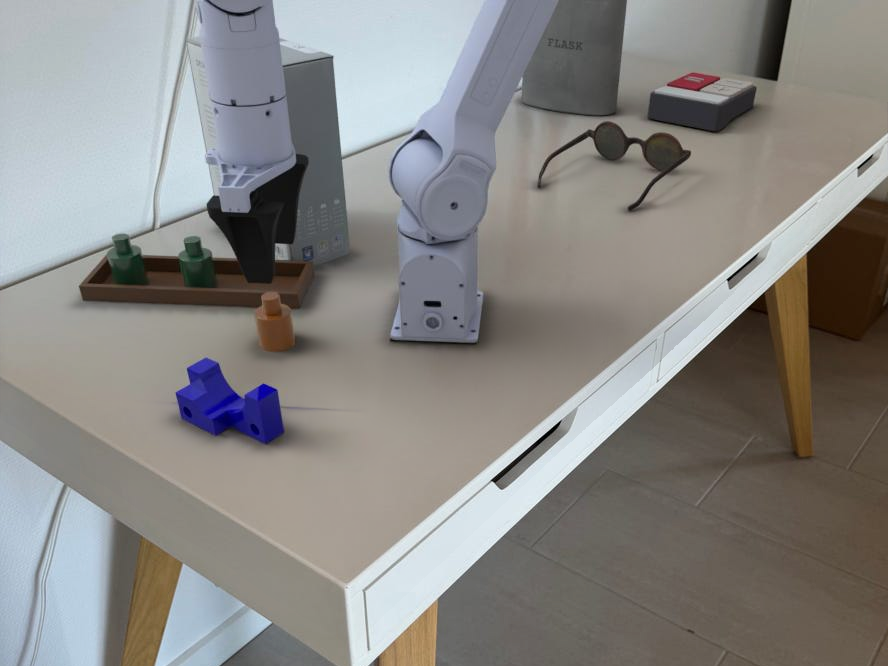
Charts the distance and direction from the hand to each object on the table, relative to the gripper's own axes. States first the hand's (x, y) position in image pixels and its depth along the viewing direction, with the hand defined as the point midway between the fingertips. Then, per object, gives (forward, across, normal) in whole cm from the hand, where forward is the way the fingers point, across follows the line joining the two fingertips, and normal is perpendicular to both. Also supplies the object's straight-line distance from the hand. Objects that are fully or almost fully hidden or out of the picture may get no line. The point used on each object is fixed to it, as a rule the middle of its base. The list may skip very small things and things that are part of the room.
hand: (271, 261), depth 78 cm
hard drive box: (+8, -21, -5) cm, 23 cm away
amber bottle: (+8, +1, 0) cm, 8 cm away
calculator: (+8, -71, +46) cm, 85 cm away
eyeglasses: (+8, -42, +32) cm, 53 cm away
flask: (+8, -72, +26) cm, 77 cm away
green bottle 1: (+8, -9, -17) cm, 21 cm away
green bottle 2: (+7, -9, -10) cm, 16 cm away
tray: (+8, -9, -10) cm, 16 cm away
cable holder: (+8, +13, -1) cm, 16 cm away
